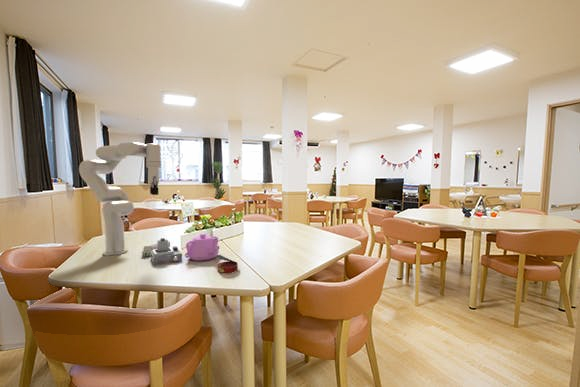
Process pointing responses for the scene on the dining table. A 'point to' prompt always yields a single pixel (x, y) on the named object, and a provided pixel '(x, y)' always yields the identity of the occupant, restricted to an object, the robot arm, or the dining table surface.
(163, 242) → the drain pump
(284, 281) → the dining table surface
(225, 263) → the canned food
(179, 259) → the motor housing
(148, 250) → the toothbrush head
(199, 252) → the teapot
